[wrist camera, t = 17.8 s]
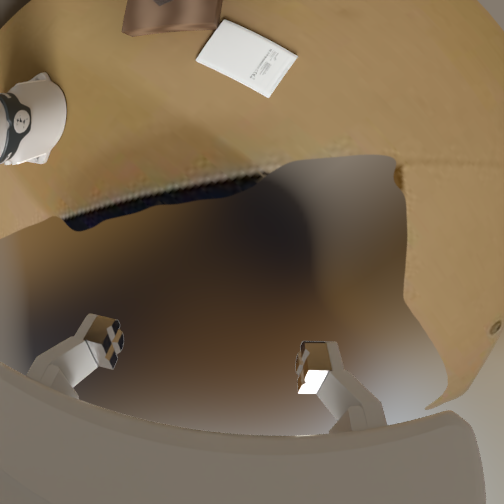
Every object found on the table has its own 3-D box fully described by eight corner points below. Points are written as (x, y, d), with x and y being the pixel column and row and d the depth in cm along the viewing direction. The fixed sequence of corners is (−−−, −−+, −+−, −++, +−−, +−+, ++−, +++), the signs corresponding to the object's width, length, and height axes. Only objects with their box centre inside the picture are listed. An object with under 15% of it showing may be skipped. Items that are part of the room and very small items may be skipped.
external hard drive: (225, 21, 29) (297, 57, 32) (197, 62, 33) (268, 98, 36) (224, 18, 28) (298, 55, 31) (194, 60, 31) (268, 98, 34)
